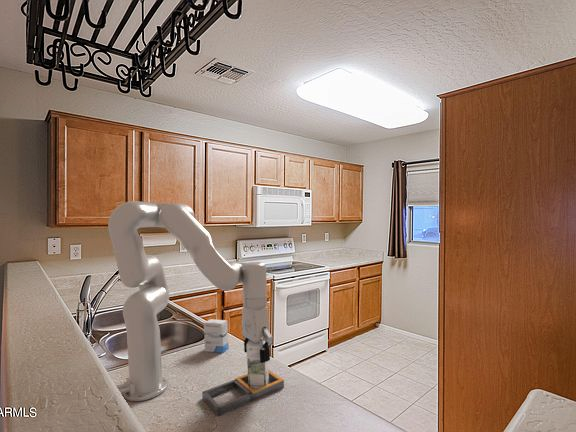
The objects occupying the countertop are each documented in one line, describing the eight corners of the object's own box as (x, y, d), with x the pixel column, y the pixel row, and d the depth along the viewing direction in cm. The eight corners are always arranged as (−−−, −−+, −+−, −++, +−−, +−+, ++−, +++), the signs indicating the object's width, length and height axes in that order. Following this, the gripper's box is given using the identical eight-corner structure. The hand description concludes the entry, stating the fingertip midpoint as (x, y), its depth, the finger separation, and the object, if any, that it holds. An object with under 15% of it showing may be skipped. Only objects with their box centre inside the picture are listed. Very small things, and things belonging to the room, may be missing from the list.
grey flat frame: (217, 416, 85) (217, 407, 85) (202, 398, 94) (202, 390, 94) (283, 387, 98) (283, 379, 98) (265, 374, 107) (264, 367, 107)
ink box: (229, 348, 130) (227, 319, 130) (222, 353, 126) (221, 323, 126) (211, 346, 133) (209, 318, 133) (204, 351, 128) (203, 322, 128)
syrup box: (269, 381, 102) (267, 336, 102) (266, 391, 96) (264, 344, 96) (252, 381, 103) (250, 337, 103) (248, 391, 97) (245, 344, 97)
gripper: (232, 298, 104) (233, 350, 104) (259, 310, 90) (261, 370, 90) (251, 294, 109) (253, 344, 109) (280, 305, 95) (282, 362, 95)
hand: (256, 356), depth 100 cm, fingers open, 9 cm apart
